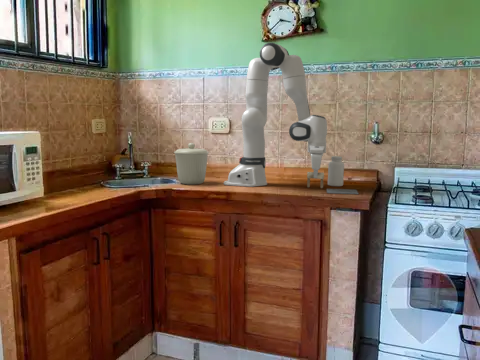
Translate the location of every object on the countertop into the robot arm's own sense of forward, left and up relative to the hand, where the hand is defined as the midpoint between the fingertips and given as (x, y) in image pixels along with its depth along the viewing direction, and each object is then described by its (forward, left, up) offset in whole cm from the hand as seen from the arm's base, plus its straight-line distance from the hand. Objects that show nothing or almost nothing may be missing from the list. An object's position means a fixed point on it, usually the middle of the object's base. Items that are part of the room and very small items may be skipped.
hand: (315, 177), depth 224 cm
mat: (+13, -7, -6) cm, 15 cm away
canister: (-63, +4, -6) cm, 64 cm away
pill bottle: (+11, +15, -6) cm, 19 cm away
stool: (0, 0, -5) cm, 5 cm away
